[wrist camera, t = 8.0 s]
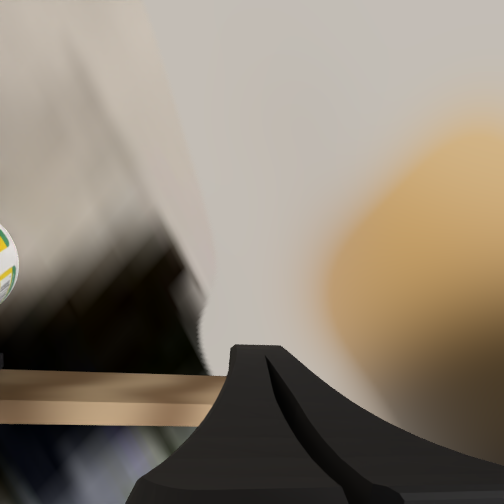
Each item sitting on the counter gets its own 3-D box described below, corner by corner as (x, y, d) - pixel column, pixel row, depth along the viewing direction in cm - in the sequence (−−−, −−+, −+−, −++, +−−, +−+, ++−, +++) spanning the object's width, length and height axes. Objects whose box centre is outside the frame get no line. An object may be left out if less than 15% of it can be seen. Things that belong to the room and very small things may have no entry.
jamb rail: (244, 377, 24) (250, 405, 21) (242, 396, 24) (247, 427, 22) (-186, 363, 21) (-236, 394, 18) (-183, 386, 21) (-231, 420, 19)
